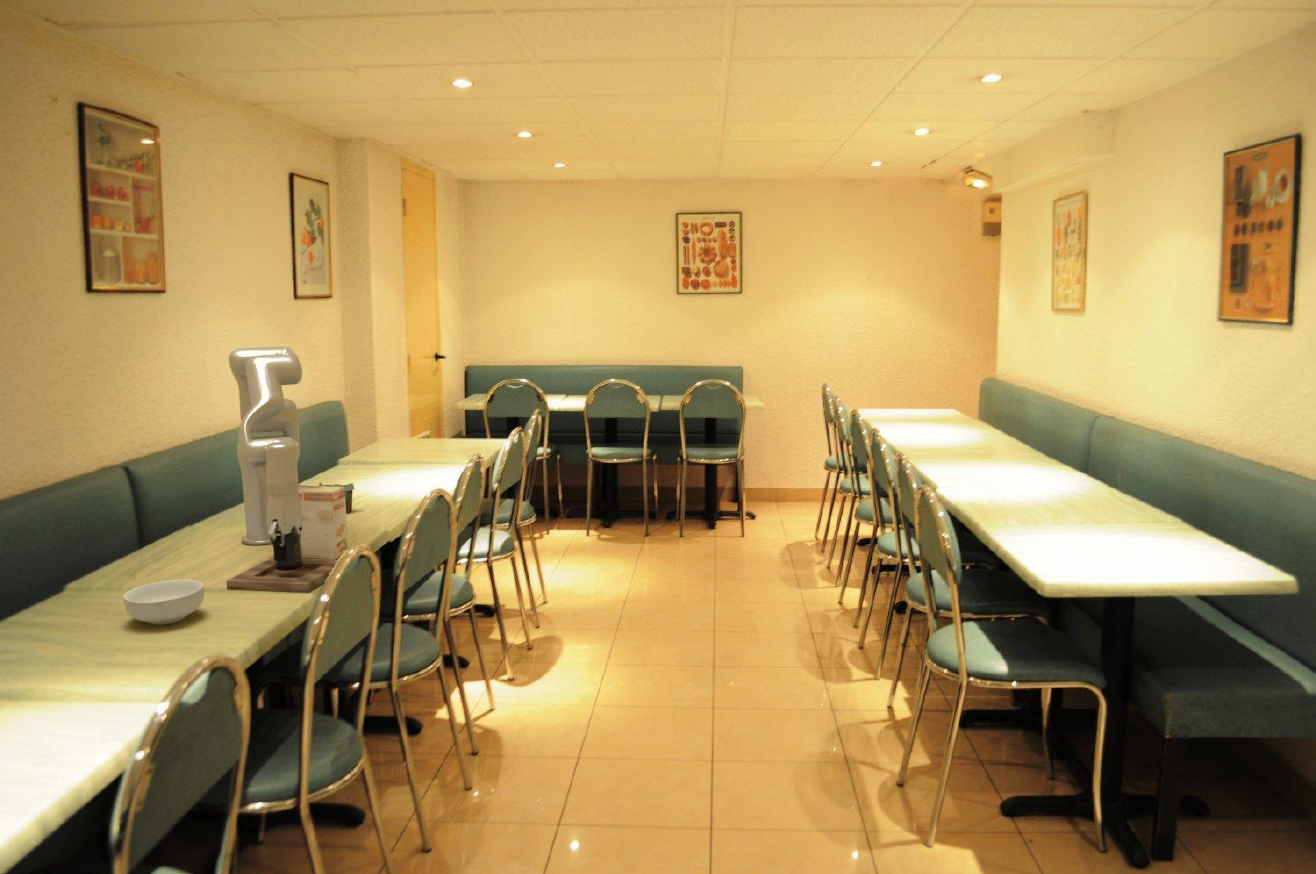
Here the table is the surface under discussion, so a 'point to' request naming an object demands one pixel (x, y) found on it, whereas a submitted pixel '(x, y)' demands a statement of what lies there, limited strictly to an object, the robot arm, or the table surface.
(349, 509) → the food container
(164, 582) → the cereal bowl
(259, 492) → the robot arm
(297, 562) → the supplement bottle
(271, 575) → the wooden tray
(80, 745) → the table surface
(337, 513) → the coffeecake box
